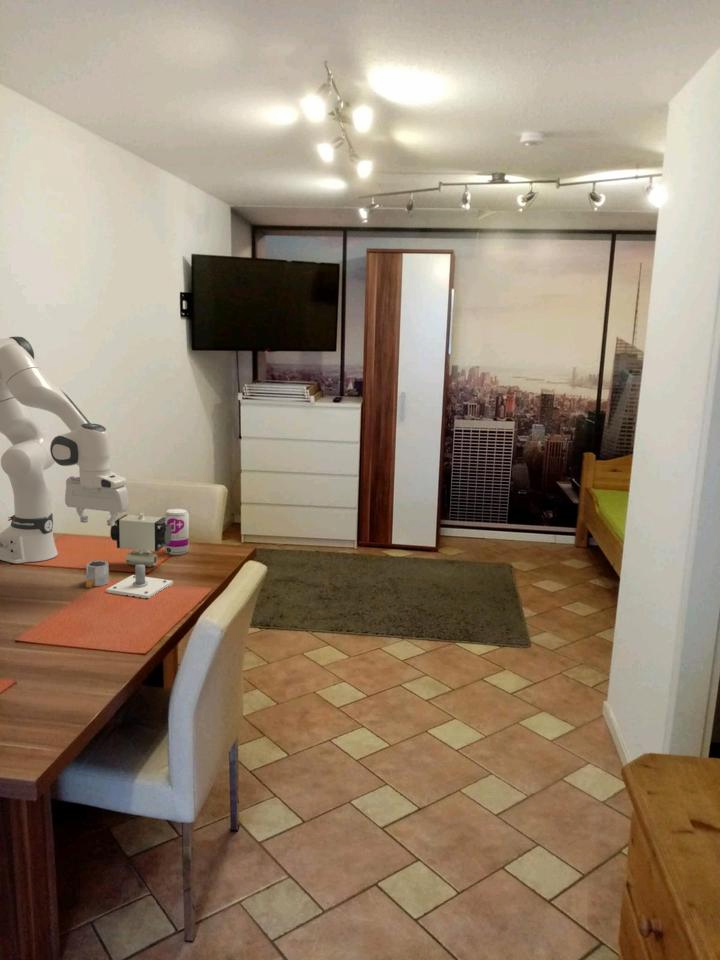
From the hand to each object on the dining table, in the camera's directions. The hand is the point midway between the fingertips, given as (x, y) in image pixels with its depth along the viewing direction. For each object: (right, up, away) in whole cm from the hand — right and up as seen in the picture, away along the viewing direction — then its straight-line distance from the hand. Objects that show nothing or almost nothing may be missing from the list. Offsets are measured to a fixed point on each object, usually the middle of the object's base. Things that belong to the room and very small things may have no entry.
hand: (97, 523), depth 219 cm
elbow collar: (-1, -18, +4) cm, 19 cm away
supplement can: (+14, -12, +37) cm, 42 cm away
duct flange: (+13, -19, +1) cm, 23 cm away
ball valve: (+7, -15, +22) cm, 27 cm away
